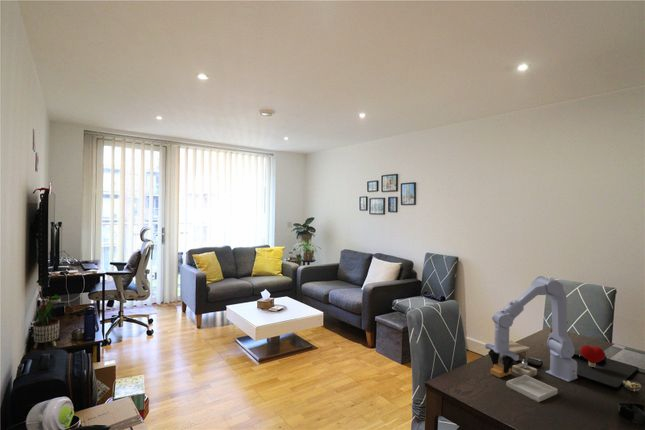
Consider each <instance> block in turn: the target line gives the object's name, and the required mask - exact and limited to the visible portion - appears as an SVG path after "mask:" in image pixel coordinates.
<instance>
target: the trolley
mask: <svg viewBox="0 0 645 430" xmlns="http://www.w3.org/2000/svg"><path fill="white" fill-rule="evenodd" d="M509 350H510V351H511V352H513V353H515V354H516V355H519V358H521V359H526V360H528V361H529V350H530V347H529V346H526V345H524V344H521V343H518V342H515V341H512V340H509ZM503 357H506V356H505V355H502V354H499V361H500V362H501V363H503V359H502V358H503Z"/></svg>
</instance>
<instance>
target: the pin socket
mask: <svg viewBox="0 0 645 430" xmlns="http://www.w3.org/2000/svg"><path fill="white" fill-rule="evenodd" d="M512 372H513V373H515V374H518V375H519V376H523V375H527V376H529V377H531V378H533V377H535V376H537V375H538V369H537V368H535V367H533V366H530V365H528V364H527V370H525V369H523V368H522V362H519V363H518V364H514V365H511V373H512Z"/></svg>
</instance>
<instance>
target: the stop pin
mask: <svg viewBox="0 0 645 430" xmlns="http://www.w3.org/2000/svg"><path fill="white" fill-rule="evenodd" d="M521 363H522V368H523V369H525V370H527V365H528V362H527V360H526V359H522V361H521Z"/></svg>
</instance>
